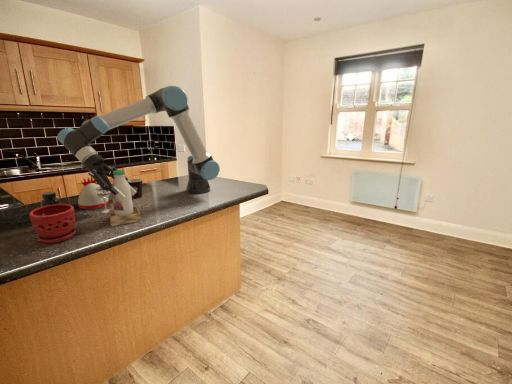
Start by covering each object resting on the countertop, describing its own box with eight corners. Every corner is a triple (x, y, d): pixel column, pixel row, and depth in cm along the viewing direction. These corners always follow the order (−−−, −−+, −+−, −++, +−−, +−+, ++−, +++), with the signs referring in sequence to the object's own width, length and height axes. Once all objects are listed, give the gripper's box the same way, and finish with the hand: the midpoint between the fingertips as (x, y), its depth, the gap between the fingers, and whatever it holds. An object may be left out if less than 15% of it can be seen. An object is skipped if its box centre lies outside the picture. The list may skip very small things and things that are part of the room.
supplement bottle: (48, 222, 113) (42, 196, 109) (41, 219, 116) (35, 193, 113) (65, 217, 118) (60, 192, 115) (59, 214, 122) (54, 190, 118)
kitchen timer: (75, 204, 136) (70, 177, 132) (104, 199, 146) (100, 173, 142) (83, 210, 127) (77, 181, 123) (112, 204, 137) (108, 177, 133)
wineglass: (99, 209, 129) (95, 186, 125) (114, 208, 131) (111, 185, 128) (97, 214, 123) (93, 190, 119) (113, 212, 125) (109, 189, 122)
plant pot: (27, 242, 94) (20, 212, 91) (64, 229, 106) (58, 201, 103) (51, 249, 90) (43, 217, 87) (86, 234, 102) (81, 205, 98)
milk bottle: (130, 209, 122) (124, 168, 117) (136, 213, 117) (131, 171, 111) (112, 213, 117) (106, 170, 111) (118, 218, 112) (111, 173, 106)
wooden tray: (137, 212, 125) (136, 206, 124) (141, 220, 116) (140, 213, 115) (109, 217, 119) (108, 210, 118) (111, 226, 110) (110, 218, 109)
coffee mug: (146, 195, 155) (145, 179, 152) (139, 199, 146) (137, 182, 144) (128, 194, 156) (126, 178, 153) (120, 198, 147) (117, 181, 145)
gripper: (102, 161, 122) (137, 195, 125) (67, 168, 103) (108, 209, 105) (111, 150, 120) (146, 185, 123) (76, 156, 101) (119, 197, 103)
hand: (129, 196), depth 114 cm, fingers closed on milk bottle, 7 cm apart
